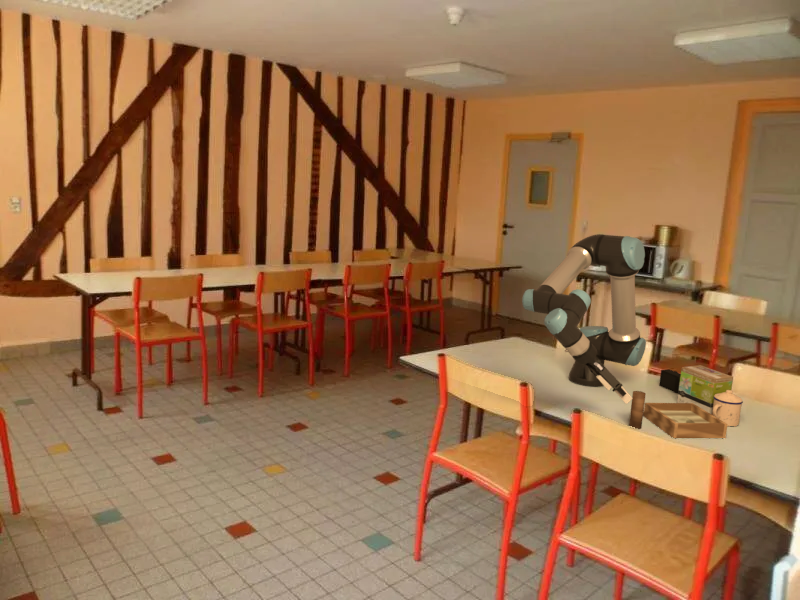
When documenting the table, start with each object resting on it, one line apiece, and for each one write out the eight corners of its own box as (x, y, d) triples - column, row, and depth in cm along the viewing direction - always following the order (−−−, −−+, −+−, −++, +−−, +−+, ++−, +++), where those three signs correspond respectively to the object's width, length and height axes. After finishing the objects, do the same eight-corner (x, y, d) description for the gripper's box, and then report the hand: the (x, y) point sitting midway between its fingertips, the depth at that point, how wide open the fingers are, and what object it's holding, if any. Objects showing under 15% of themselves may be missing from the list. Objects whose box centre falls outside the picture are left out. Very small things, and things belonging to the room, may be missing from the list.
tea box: (675, 403, 236) (680, 366, 234) (695, 401, 240) (700, 364, 238) (709, 417, 223) (714, 377, 220) (728, 414, 227) (734, 375, 224)
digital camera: (688, 393, 250) (690, 376, 249) (677, 393, 248) (679, 377, 247) (669, 385, 260) (671, 368, 259) (659, 385, 258) (661, 369, 257)
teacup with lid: (720, 416, 225) (724, 385, 223) (744, 424, 217) (749, 392, 215) (699, 421, 219) (704, 389, 216) (724, 430, 211) (729, 397, 209)
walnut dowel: (626, 424, 212) (630, 390, 210) (637, 424, 212) (642, 390, 210) (632, 429, 208) (636, 394, 206) (643, 429, 208) (647, 394, 206)
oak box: (643, 416, 221) (644, 402, 220) (691, 416, 223) (692, 403, 222) (673, 438, 201) (675, 423, 200) (725, 438, 203) (727, 424, 202)
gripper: (558, 347, 215) (596, 389, 219) (587, 367, 190) (628, 415, 194) (575, 332, 214) (612, 375, 219) (605, 351, 190) (646, 399, 194)
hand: (619, 394), depth 207 cm, fingers open, 13 cm apart
